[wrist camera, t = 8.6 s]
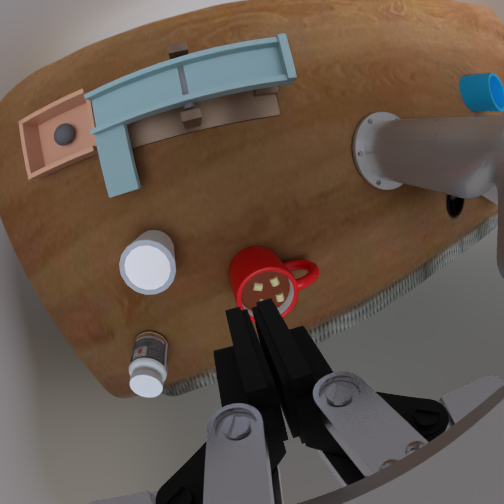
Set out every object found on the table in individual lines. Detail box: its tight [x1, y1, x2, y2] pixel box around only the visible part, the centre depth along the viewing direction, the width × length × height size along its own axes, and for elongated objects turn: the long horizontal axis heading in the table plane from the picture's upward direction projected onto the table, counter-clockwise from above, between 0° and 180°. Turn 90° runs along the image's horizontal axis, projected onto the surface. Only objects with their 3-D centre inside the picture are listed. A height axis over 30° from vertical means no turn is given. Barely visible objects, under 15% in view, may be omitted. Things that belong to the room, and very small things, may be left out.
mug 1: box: [228, 246, 319, 322], centre depth 38 cm, size 8×12×8 cm, turn 105°
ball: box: [54, 123, 75, 146], centre depth 28 cm, size 3×3×3 cm
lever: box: [84, 33, 297, 198], centre depth 25 cm, size 22×13×4 cm, turn 102°
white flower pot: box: [482, 185, 498, 205], centre depth 39 cm, size 12×12×14 cm
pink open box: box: [19, 89, 98, 180], centre depth 27 cm, size 10×8×5 cm
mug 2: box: [460, 73, 504, 111], centre depth 35 cm, size 12×8×8 cm
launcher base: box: [96, 42, 280, 149], centre depth 28 cm, size 23×10×8 cm, turn 102°
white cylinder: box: [119, 230, 176, 295], centre depth 34 cm, size 7×7×7 cm
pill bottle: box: [129, 331, 168, 397], centre depth 37 cm, size 6×6×10 cm
